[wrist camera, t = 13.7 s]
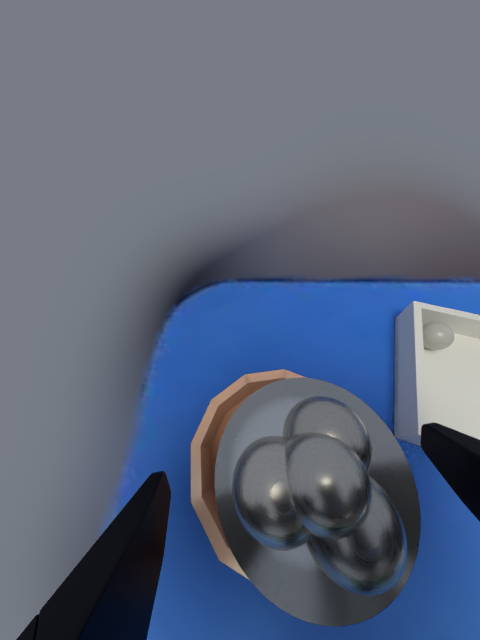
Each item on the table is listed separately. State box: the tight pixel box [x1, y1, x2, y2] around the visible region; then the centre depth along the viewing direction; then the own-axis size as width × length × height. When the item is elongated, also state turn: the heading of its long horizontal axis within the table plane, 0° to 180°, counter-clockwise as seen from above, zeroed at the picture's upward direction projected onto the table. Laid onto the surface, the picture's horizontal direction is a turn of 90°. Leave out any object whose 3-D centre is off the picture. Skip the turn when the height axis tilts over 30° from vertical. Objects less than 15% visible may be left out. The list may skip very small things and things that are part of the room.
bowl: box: [191, 369, 306, 579], centre depth 15 cm, size 11×11×4 cm
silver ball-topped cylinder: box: [215, 378, 420, 626], centre depth 10 cm, size 5×5×14 cm
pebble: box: [422, 322, 454, 350], centre depth 19 cm, size 2×2×2 cm
